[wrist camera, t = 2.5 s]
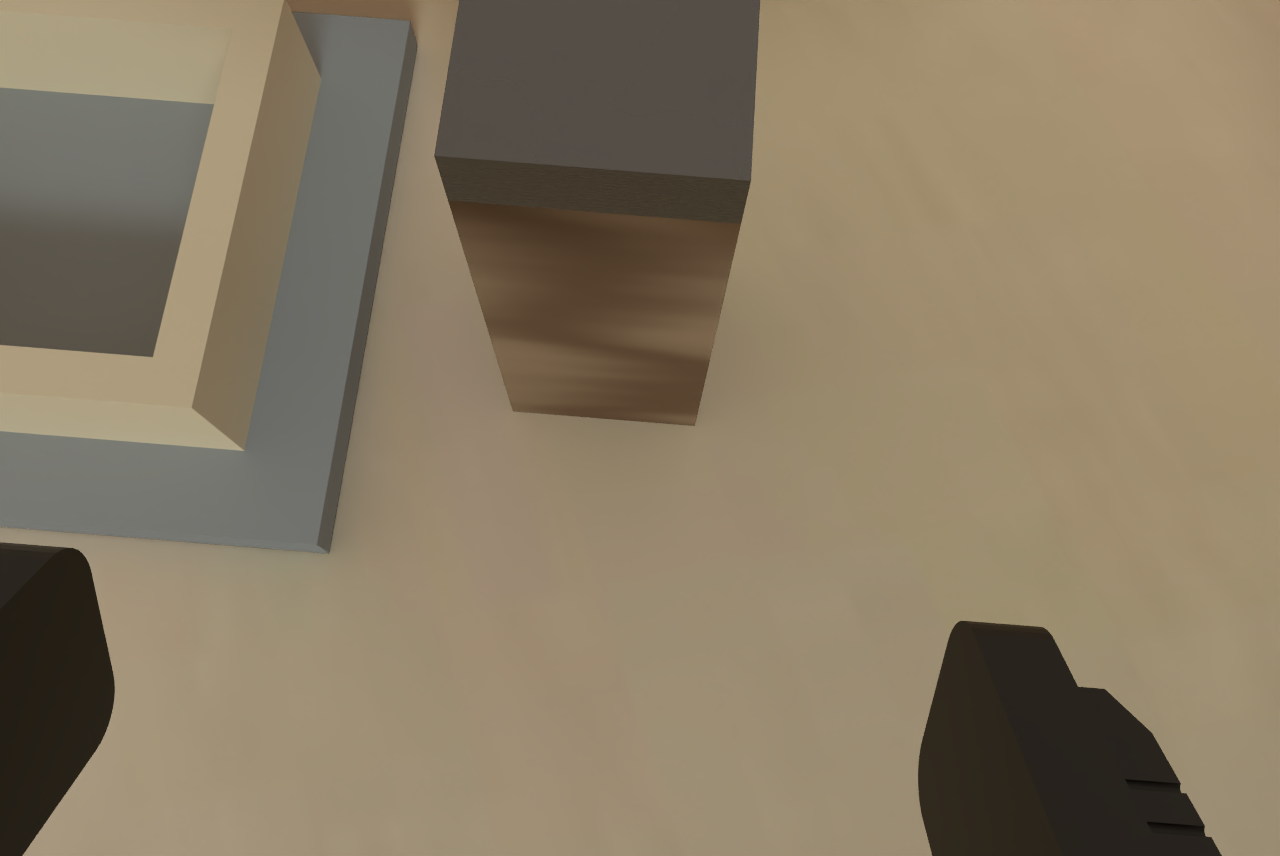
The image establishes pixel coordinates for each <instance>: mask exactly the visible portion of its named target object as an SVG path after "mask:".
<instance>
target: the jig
mask: <svg viewBox="0 0 1280 856" xmlns="http://www.w3.org/2000/svg"><path fill="white" fill-rule="evenodd" d="M416 51H417V43H416V39H415V36H414V32H413V29H412V25H411V22H410V21H407V20H394V19H381V18H368V17H355V16H343V15H330V14H317V13H304V12H292V11H291V9H290V7H289V5H288V2H287V0H0V527H11V528H23V529H35V530H47V531H60V532H72V533H84V534H97V535H109V536H121V537H134V538H146V539H158V540H171V541H183V542H195V543H208V544H220V545H232V546H245V547H257V548H269V549H282V550H294V551H306V552H318V553H329V551H330V545H331V540H332V534H333V528H334V522H335V517H336V511H337V505H338V499H339V494H340V488H341V482H342V476H343V471H344V465H345V459H346V453H347V448H348V442H349V436H350V430H351V425H352V419H353V413H354V408H355V402H356V396H357V390H358V385H359V379H360V373H361V367H362V362H363V356H364V350H365V344H366V339H367V333H368V327H369V321H370V316H371V310H372V304H373V298H374V293H375V287H376V281H377V275H378V270H379V264H380V258H381V252H382V247H383V241H384V235H385V229H386V224H387V218H388V212H389V207H390V201H391V195H392V189H393V184H394V178H395V172H396V166H397V161H398V155H399V149H400V143H401V138H402V132H403V126H404V120H405V115H406V109H407V103H408V97H409V92H410V86H411V80H412V74H413V69H414V63H415V57H416Z"/></svg>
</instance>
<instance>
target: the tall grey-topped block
mask: <svg viewBox="0 0 1280 856" xmlns="http://www.w3.org/2000/svg"><path fill="white" fill-rule="evenodd" d="M759 11H760V0H459V6H458V12H457V19H456V25H455V31H454V37H453V43H452V49H451V56H450V62H449V68H448V74H447V80H446V87H445V93H444V99H443V105H442V111H441V118H440V124H439V130H438V136H437V142H436V149H435V155H434V156H435V159H436V163H437V166H438V169H439V172H440V176H441V179H442V182H443V185H444V189H445V192H446V195H447V198H448V202H449V205H450V208H451V211H452V215H453V218H454V221H455V224H456V228H457V231H458V234H459V237H460V241H461V244H462V247H463V250H464V254H465V257H466V260H467V263H468V267H469V270H470V273H471V276H472V280H473V283H474V286H475V289H476V293H477V296H478V299H479V302H480V305H481V309H482V312H483V315H484V318H485V322H486V325H487V328H488V331H489V335H490V338H491V341H492V344H493V348H494V351H495V354H496V357H497V361H498V364H499V367H500V370H501V374H502V377H503V380H504V383H505V387H506V390H507V393H508V396H509V400H510V403H511V406H512V409H513V411H518V412H530V413H543V414H555V415H568V416H580V417H592V418H605V419H617V420H630V421H642V422H655V423H667V424H679V425H692V426H695V422H696V418H697V414H698V409H699V405H700V400H701V396H702V392H703V387H704V383H705V379H706V374H707V370H708V366H709V361H710V357H711V352H712V348H713V344H714V339H715V335H716V331H717V326H718V322H719V317H720V313H721V309H722V304H723V300H724V296H725V291H726V287H727V283H728V278H729V274H730V269H731V265H732V261H733V256H734V252H735V248H736V243H737V239H738V235H739V230H740V226H741V221H742V217H743V213H744V208H745V204H746V200H747V195H748V191H749V186H750V182H751V167H752V148H753V128H754V109H755V89H756V69H757V50H758V30H759Z"/></svg>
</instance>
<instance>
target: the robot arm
mask: <svg viewBox="0 0 1280 856" xmlns="http://www.w3.org/2000/svg"><path fill="white" fill-rule="evenodd" d="M114 692H115V686H114V676H113V671H112V666H111V661H110V657H109V652H108V647H107V643H106V638H105V634H104V629H103V624H102V620H101V615H100V610H99V606H98V601H97V596H96V592H95V587H94V582H93V578H92V573H91V569H90V566H89V563H88V561H87V559H86V558H85V556H84V555H83V554H82V553H81V552H80V551H79V550H76V549H74V548H64V547H51V546H39V545H26V544H13V543H1V542H0V856H22V855H23V854H24V852H25V851H26V850H27V848H28V847H29V845H30V844H31V842H32V841H33V840H34V838H35V837H36V835H37V834H38V832H39V831H40V830H41V828H42V827H43V825H44V824H45V822H46V821H47V820H48V818H49V817H50V815H51V814H52V812H53V811H54V810H55V808H56V807H57V805H58V804H59V802H60V801H61V800H62V798H63V797H64V795H65V794H66V792H67V791H68V789H69V788H70V787H71V785H72V784H73V782H74V781H75V779H76V778H77V777H78V775H79V774H80V772H81V771H82V769H83V768H84V767H85V765H86V764H87V762H88V761H89V759H90V758H91V757H92V755H93V754H94V752H95V751H96V749H97V748H98V746H99V744H100V743H101V741H102V739H103V737H104V735H105V732H106V730H107V727H108V724H109V721H110V718H111V713H112V709H113V703H114ZM1180 784H1181V783H1180V782H1179V780H1178V778H1177V776H1176V774H1175V773H1174V771H1173V769H1172V767H1171V766H1170V764H1169V762H1168V760H1167V759H1166V757H1165V755H1164V753H1163V752H1162V750H1161V748H1160V746H1159V745H1158V743H1157V741H1156V739H1155V738H1154V736H1153V734H1152V733H1151V732H1150V731H1149V730H1148V729H1147V728H1146V727H1145V726H1144V725H1143V724H1142V723H1141V722H1139V721H1138V720H1137V719H1136V718H1135V717H1134V716H1133V715H1132V714H1131V713H1130V712H1129V711H1128V710H1127V709H1126V708H1124V707H1123V706H1122V705H1121V704H1120V703H1119V702H1118V701H1117V700H1116V699H1115V698H1114V697H1113V696H1112V695H1110V694H1109V693H1108V692H1107V691H1106V690H1105V689H1098V688H1085V687H1078V686H1077V684H1076V682H1075V680H1074V678H1073V676H1072V674H1071V672H1070V670H1069V668H1068V666H1067V664H1066V662H1065V660H1064V658H1063V656H1062V654H1061V652H1060V650H1059V648H1058V646H1057V644H1056V642H1055V640H1054V639H1053V637H1052V635H1051V634H1050V633H1049V632H1048V631H1047V630H1046V629H1045V628H1043V627H1034V626H1021V625H1009V624H996V623H983V622H971V621H960V622H958V623H957V624H956V625H955V626H954V628H953V629H952V632H951V634H950V637H949V640H948V644H947V647H946V651H945V655H944V659H943V663H942V667H941V670H940V674H939V678H938V682H937V686H936V690H935V693H934V697H933V701H932V705H931V709H930V713H929V717H928V720H927V724H926V728H925V732H924V736H923V740H922V744H921V749H920V756H919V768H918V787H919V800H920V807H921V813H922V817H923V821H924V825H925V829H926V833H927V837H928V840H929V844H930V848H931V852H932V856H1222V855H1221V854H1220V852H1219V850H1218V848H1217V847H1216V845H1215V843H1214V841H1213V840H1212V838H1211V837H1206V836H1205V833H1204V827H1205V826H1204V824H1203V822H1202V820H1201V818H1200V817H1199V815H1198V813H1197V811H1196V810H1195V808H1194V806H1193V804H1192V803H1191V801H1190V799H1189V797H1188V796H1187V794H1185V793H1181V791H1180Z"/></svg>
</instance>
